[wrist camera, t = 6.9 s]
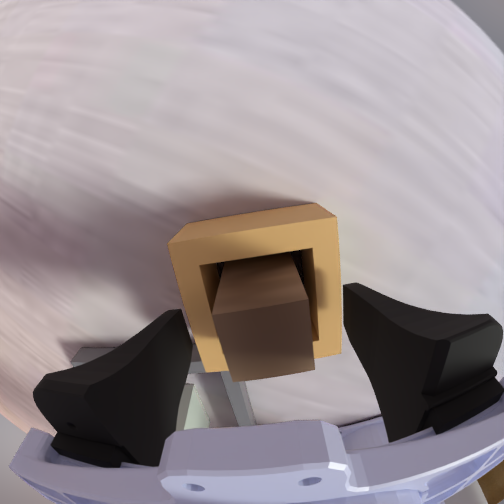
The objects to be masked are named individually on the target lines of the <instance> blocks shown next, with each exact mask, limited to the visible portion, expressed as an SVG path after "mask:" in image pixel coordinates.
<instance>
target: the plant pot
mask: <svg viewBox="0 0 504 504" xmlns="http://www.w3.org/2000/svg"><path fill="white" fill-rule="evenodd" d="M477 481H478V483H479V485H480V487H481V489H482V492H483V494H484V496H485V498H486V500H487V503H488V504H497V503H499V502H500V501H502V500H503V499H504V460H503V461H502V462H500V463H499V464H498V465H496V466H495V467H494V468H492V469H491V470H490V471H488V472H487V473H486V474H484V475H483V476H482V477H480V478H479V479H477Z"/></svg>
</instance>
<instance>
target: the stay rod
mask: <svg viewBox="0 0 504 504" xmlns="http://www.w3.org/2000/svg"><path fill="white" fill-rule="evenodd" d="M212 318H213V321H214V325H215V328H216V331H217V334H218V338H219V341H220V344H221V347H222V350H223V354H224V357H225V360H226V363H227V366H228V369H229V372H230V375H231V378H232V381H233V382H241V381H249V380H257V379H264V378H271V377H277V376H284V375H289V374H295V373H301V372H306V371H311V370H315V363H314V351H313V340H312V329H311V319H310V309H309V300H308V297H307V294H306V292H305V289H304V286H303V284H302V281H301V279H300V276H299V274H298V271H297V269H296V266H295V264H294V261H293V259H292V256H291V254H290V251H288V252H282V253H276V254H269V255H263V256H256V257H250V258H243V259H237V260H230V261H225V263H224V267H223V271H222V275H221V279H220V283H219V287H218V291H217V295H216V299H215V303H214V307H213V311H212Z"/></svg>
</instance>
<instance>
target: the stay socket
mask: <svg viewBox="0 0 504 504" xmlns="http://www.w3.org/2000/svg"><path fill="white" fill-rule="evenodd" d="M167 245H168V249H169V253H170V257H171V261H172V265H173V269H174V272H175V276H176V280H177V283H178V287H179V290H180V294H181V297H182V301H183V304H184V307H185V311H186V314H187V317H188V320H189V324H190V327H191V330H192V333H193V336H194V339H195V342H196V345H197V348H198V351H199V354H200V357H201V360H202V363H203V365H204V368H205V371H206V372H218V371H229V369H228V366H227V363H226V360H225V357H224V354H223V350H222V347H221V344H220V341H219V338H218V334H217V331H216V328H215V325H214V321H213V318H212V311H213V307H214V303H215V299H216V295H217V291H218V287H219V283H220V278H219V274H218V269H217V265H216V263H217V262H224V261H230V260H237V259H243V258H250V257H256V256H263V255H269V254H276V253H282V252H288V251H295V250H301V256H302V265H303V275H304V285H305V292H306V294H307V297H308V300H309V309H310V319H311V329H312V340H313V351H314V359H316V358H321V357H326V356H331V355H336V354H341V342H342V308H341V273H340V254H339V238H338V225H337V217H336V216H335V215H333V214H332V213H330V212H329V211H327V210H326V209H325V208H323V207H322V206H320V205H319V204H317V203H312V204H305V205H298V206H291V207H284V208H277V209H270V210H264V211H258V212H251V213H245V214H239V215H233V216H227V217H221V218H215V219H210V220H204V221H198V222H193V223H187V224H186V225H185V226H184V227H183V228H182V229H181V230H180V231H179V232H178V233H177V234H176V235H175V236H174V237H173V238H172V239H171V240H170V241H169V242H168V243H167Z"/></svg>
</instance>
